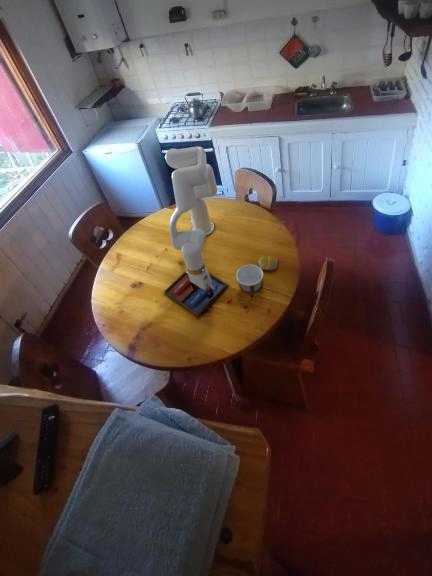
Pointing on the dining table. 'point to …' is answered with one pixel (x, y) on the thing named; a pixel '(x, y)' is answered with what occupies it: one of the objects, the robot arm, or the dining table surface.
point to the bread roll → (268, 262)
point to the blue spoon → (202, 295)
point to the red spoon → (182, 287)
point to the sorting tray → (194, 294)
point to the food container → (250, 277)
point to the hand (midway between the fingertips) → (203, 291)
